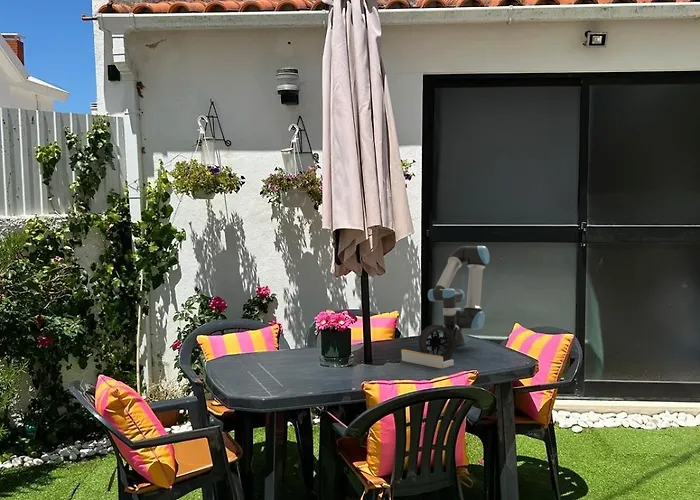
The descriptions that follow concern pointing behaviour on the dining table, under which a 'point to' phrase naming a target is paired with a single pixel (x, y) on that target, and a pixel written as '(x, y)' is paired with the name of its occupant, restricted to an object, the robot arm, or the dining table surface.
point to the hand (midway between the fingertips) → (451, 353)
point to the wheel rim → (437, 341)
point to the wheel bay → (425, 359)
